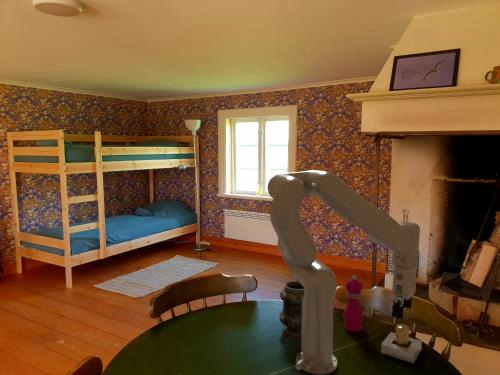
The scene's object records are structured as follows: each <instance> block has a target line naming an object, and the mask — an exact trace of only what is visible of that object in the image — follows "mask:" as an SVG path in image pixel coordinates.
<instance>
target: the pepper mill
mask: <svg viewBox="0 0 500 375" xmlns="http://www.w3.org/2000/svg"><path fill="white" fill-rule="evenodd" d="M345 289H346V291H347V292H346V296H347V304H346V305H345V308H344V310H343V313H342V318H343V319H344V324H343V326H344V328H345V329H346V330H347V331H349V332H360V331H362V326H363V325H362V322H363V320H364V313H363V310H362V309H361V305H360V298H361V295H362V293H361V292H362V291H363V284H362V281H361V280H359V279H358V277H357V275H356V274H355V275H352V276H351V278H350V279H348V280H347V281H346V283H345Z"/></svg>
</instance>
